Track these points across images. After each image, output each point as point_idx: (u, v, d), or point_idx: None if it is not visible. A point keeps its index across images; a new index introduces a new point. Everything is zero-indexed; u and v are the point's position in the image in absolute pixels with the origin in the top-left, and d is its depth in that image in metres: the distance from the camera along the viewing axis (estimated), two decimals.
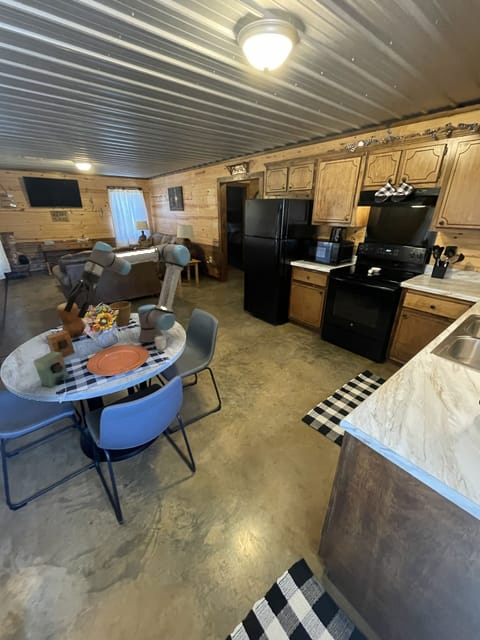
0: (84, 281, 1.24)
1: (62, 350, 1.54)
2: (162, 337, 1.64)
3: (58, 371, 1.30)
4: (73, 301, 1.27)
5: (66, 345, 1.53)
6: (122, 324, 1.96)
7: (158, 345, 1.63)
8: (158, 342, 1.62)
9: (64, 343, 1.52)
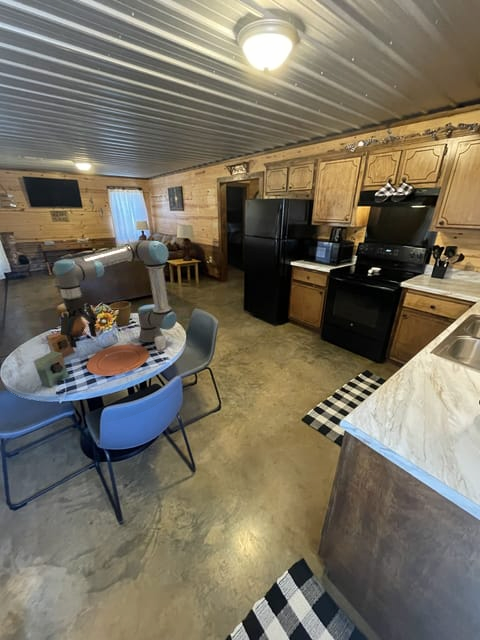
0: None
1: (62, 350, 1.54)
2: (162, 337, 1.64)
3: (58, 371, 1.30)
4: (91, 326, 1.25)
5: (66, 345, 1.53)
6: (122, 324, 1.96)
7: (158, 345, 1.63)
8: (158, 342, 1.62)
9: (64, 343, 1.52)
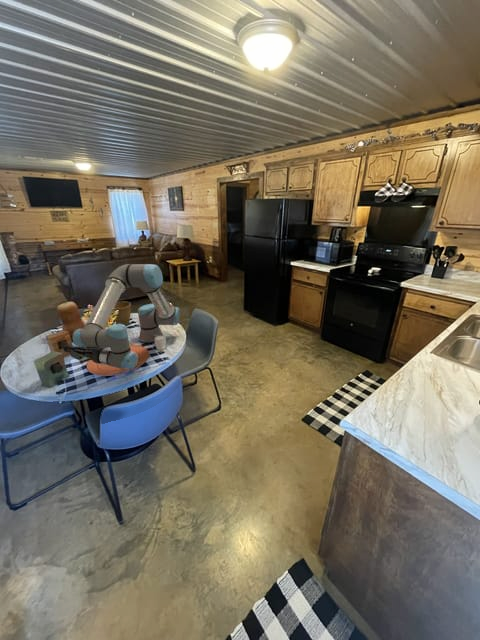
0: None
1: (62, 350, 1.54)
2: (162, 337, 1.65)
3: (58, 371, 1.30)
4: None
5: None
6: None
7: (158, 345, 1.63)
8: (158, 342, 1.62)
9: (64, 343, 1.52)
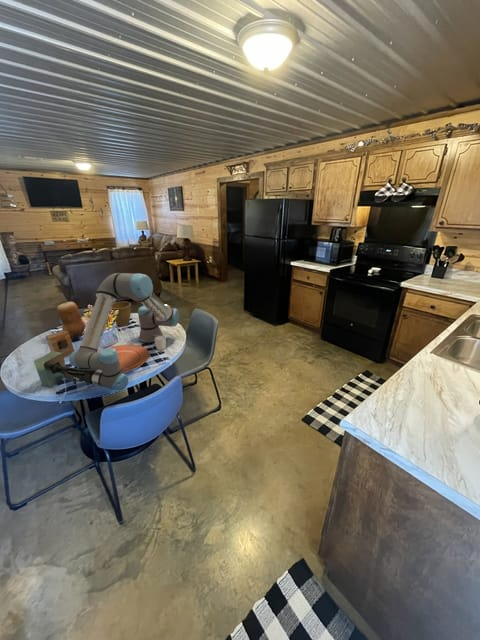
0: None
1: (62, 350, 1.54)
2: (162, 337, 1.64)
3: (57, 371, 1.30)
4: None
5: (66, 345, 1.53)
6: (122, 324, 1.96)
7: (158, 345, 1.63)
8: (158, 342, 1.62)
9: (64, 343, 1.52)
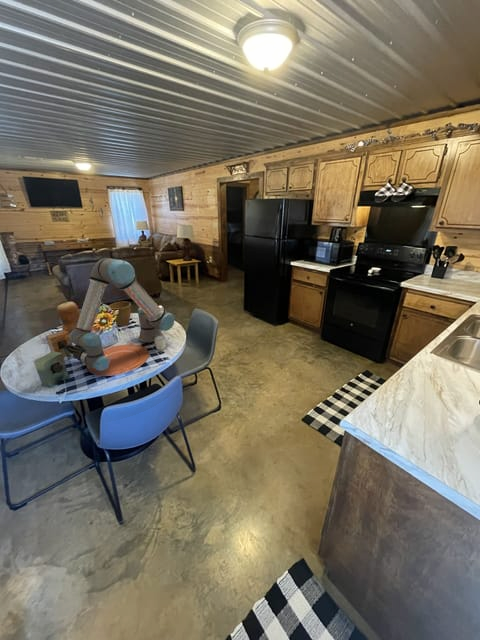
0: None
1: (62, 350, 1.54)
2: (162, 337, 1.64)
3: (58, 371, 1.30)
4: None
5: None
6: (122, 324, 1.96)
7: (158, 345, 1.63)
8: (158, 342, 1.62)
9: None
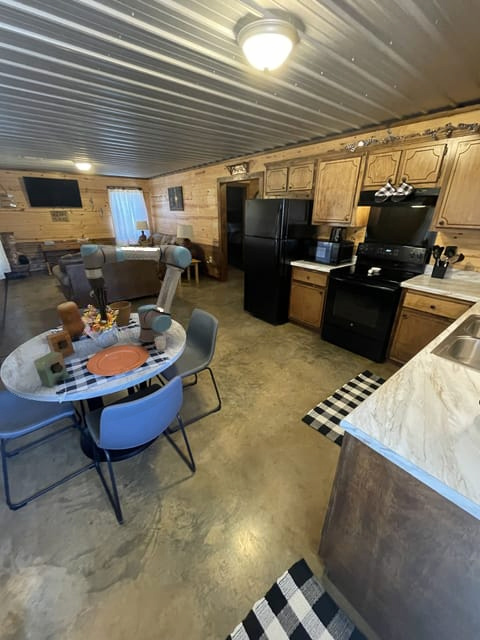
0: None
1: (62, 350, 1.54)
2: (162, 337, 1.64)
3: (58, 371, 1.30)
4: None
5: (66, 345, 1.53)
6: (122, 324, 1.96)
7: (158, 345, 1.63)
8: (158, 342, 1.62)
9: (64, 343, 1.52)
